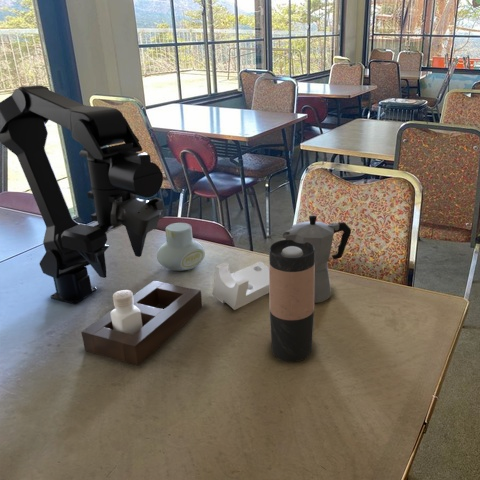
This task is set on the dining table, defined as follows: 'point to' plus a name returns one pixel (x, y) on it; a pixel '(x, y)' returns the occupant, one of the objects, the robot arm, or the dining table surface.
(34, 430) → the dining table surface
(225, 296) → the bracket
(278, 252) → the travel mug
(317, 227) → the coffeepot
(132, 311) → the salt shaker
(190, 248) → the air freshener
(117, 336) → the stand
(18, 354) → the dining table surface
